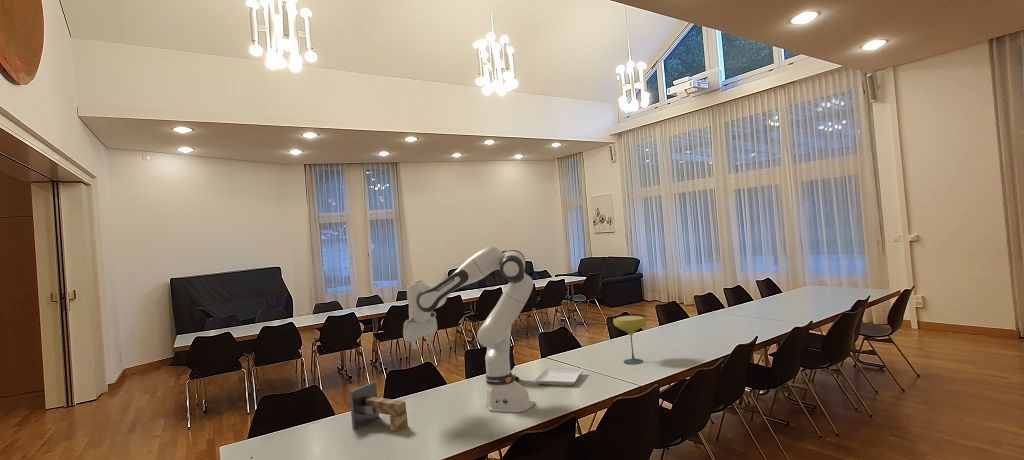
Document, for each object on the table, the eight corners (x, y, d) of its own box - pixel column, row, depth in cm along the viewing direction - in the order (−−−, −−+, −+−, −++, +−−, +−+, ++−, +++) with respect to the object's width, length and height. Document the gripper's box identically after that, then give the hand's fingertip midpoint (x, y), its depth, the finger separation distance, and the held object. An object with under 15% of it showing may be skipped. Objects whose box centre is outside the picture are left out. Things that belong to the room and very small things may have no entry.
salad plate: (534, 386, 242) (533, 380, 242) (546, 374, 262) (546, 367, 262) (575, 388, 234) (574, 381, 234) (585, 375, 254) (584, 368, 254)
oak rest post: (407, 426, 204) (406, 411, 204) (397, 431, 199) (396, 417, 199) (400, 424, 206) (399, 410, 206) (390, 430, 201) (389, 416, 201)
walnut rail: (406, 413, 203) (405, 401, 203) (399, 416, 199) (398, 404, 199) (373, 407, 213) (372, 396, 213) (366, 411, 210) (365, 399, 210)
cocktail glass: (654, 364, 260) (649, 318, 260) (620, 367, 260) (616, 321, 261) (645, 356, 278) (641, 313, 278) (614, 358, 278) (610, 315, 279)
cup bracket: (392, 418, 214) (389, 383, 214) (368, 431, 202) (365, 393, 202) (376, 416, 219) (373, 381, 219) (352, 428, 207) (349, 391, 207)
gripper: (408, 320, 212) (412, 352, 211) (437, 312, 229) (441, 340, 229) (398, 321, 215) (401, 351, 215) (427, 312, 233) (430, 340, 232)
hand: (422, 346), depth 222 cm, fingers open, 8 cm apart
